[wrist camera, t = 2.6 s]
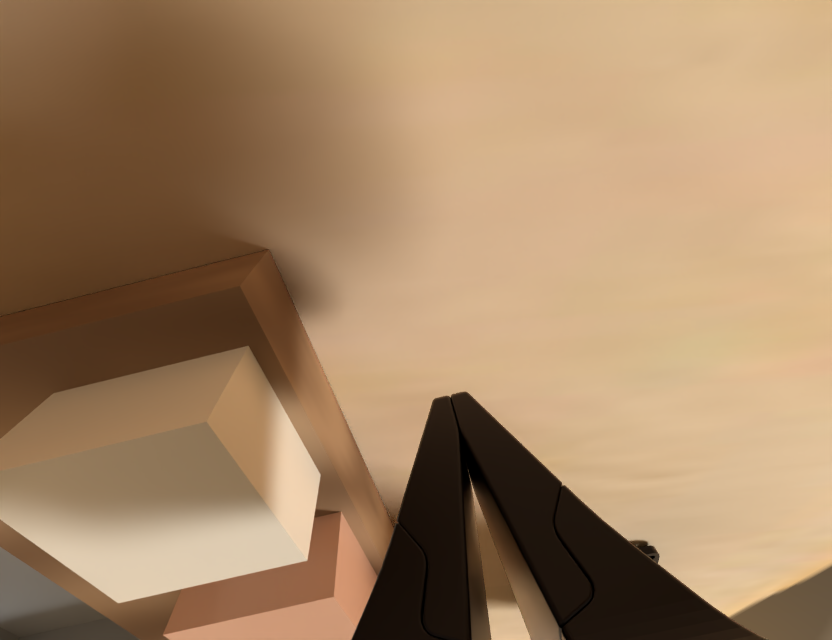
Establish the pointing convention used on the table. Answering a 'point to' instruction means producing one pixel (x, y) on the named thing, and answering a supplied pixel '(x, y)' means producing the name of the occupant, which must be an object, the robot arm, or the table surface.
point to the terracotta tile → (284, 595)
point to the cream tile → (163, 478)
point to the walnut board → (173, 343)
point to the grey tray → (47, 608)
